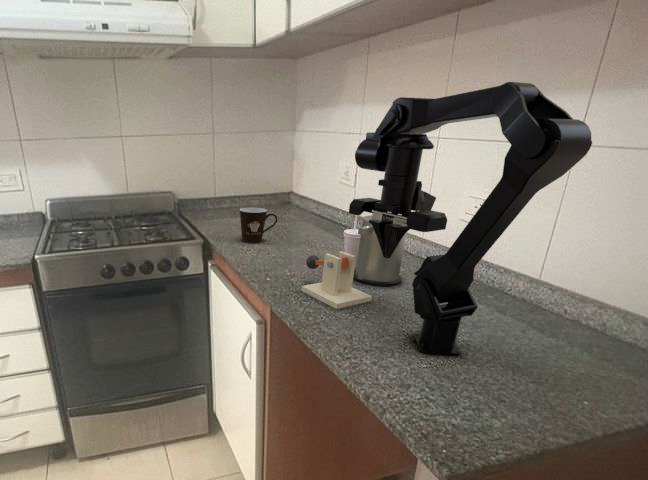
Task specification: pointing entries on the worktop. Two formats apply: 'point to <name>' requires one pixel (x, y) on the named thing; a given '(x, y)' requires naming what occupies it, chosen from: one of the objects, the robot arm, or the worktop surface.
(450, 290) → the robot arm
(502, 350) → the worktop surface
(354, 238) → the smoothie
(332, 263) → the knobbed lever stand
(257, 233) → the coffee mug
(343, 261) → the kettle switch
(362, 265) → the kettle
